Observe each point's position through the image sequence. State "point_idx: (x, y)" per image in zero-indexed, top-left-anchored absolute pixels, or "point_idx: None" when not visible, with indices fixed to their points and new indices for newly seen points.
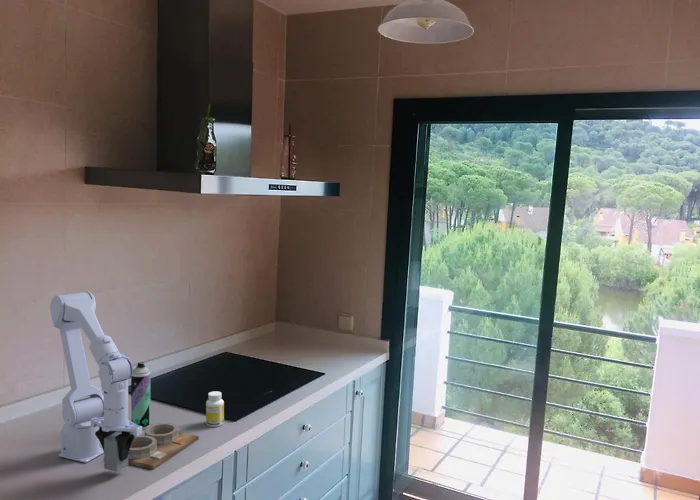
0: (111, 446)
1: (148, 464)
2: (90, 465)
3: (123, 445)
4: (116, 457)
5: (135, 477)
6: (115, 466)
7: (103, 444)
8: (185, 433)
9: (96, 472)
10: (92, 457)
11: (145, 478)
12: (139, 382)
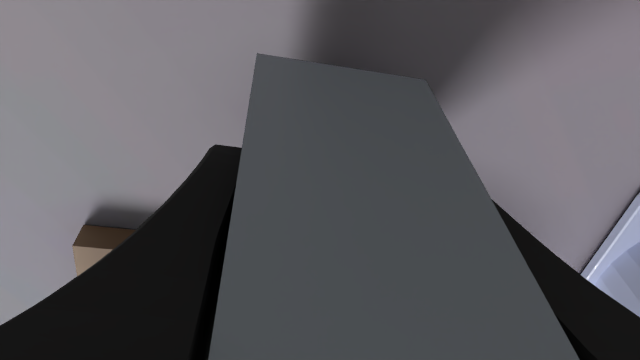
0: (364, 262)
1: None
2: (595, 167)
3: (47, 309)
4: (254, 139)
5: (122, 92)
6: (278, 81)
7: (555, 289)
8: None
9: (506, 85)
10: (614, 245)
11: (25, 98)
12: None
